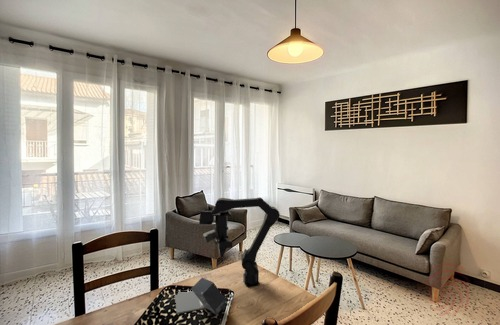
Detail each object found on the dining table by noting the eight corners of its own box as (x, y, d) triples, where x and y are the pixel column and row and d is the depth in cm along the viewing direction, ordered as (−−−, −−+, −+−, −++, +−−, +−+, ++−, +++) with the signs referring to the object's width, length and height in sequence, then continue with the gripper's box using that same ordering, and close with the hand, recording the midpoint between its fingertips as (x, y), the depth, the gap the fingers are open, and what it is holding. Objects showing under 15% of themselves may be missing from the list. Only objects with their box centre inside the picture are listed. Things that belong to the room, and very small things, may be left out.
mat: (199, 289, 120) (199, 286, 120) (204, 308, 105) (204, 304, 105) (174, 293, 116) (174, 290, 116) (176, 313, 101) (176, 310, 101)
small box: (228, 301, 100) (213, 281, 98) (217, 316, 97) (201, 295, 95) (216, 294, 109) (202, 276, 107) (204, 308, 105) (189, 289, 103)
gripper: (201, 221, 131) (201, 252, 131) (208, 231, 114) (208, 267, 114) (223, 219, 135) (223, 249, 135) (232, 229, 117) (232, 263, 118)
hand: (221, 257), depth 125 cm, fingers closed
